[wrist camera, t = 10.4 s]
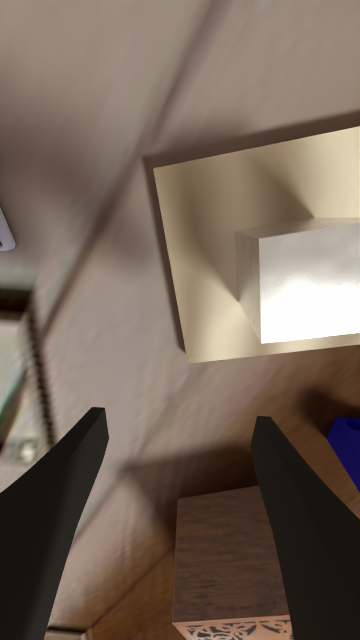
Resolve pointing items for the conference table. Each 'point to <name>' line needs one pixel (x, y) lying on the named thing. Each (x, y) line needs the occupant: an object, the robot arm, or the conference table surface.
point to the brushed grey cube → (300, 278)
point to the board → (243, 213)
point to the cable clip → (347, 445)
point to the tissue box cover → (228, 570)
